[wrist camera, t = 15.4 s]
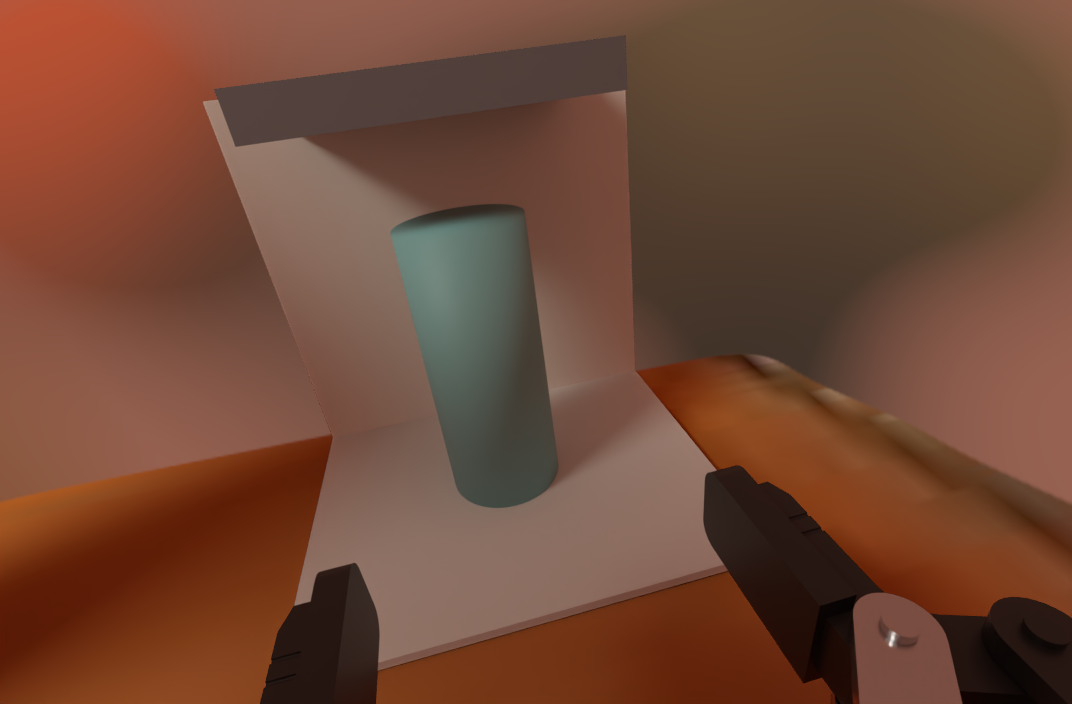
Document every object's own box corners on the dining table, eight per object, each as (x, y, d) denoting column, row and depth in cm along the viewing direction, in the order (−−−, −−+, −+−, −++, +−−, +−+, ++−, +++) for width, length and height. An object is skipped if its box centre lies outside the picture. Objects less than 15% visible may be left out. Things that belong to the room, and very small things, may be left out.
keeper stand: (278, 699, 17) (-101, 109, 8) (339, 423, 31) (218, 101, 22) (779, 556, 19) (862, -12, 11) (623, 361, 33) (608, 49, 25)
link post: (459, 520, 22) (387, 250, 16) (451, 450, 26) (392, 218, 21) (570, 491, 23) (537, 223, 17) (544, 428, 27) (511, 198, 22)
